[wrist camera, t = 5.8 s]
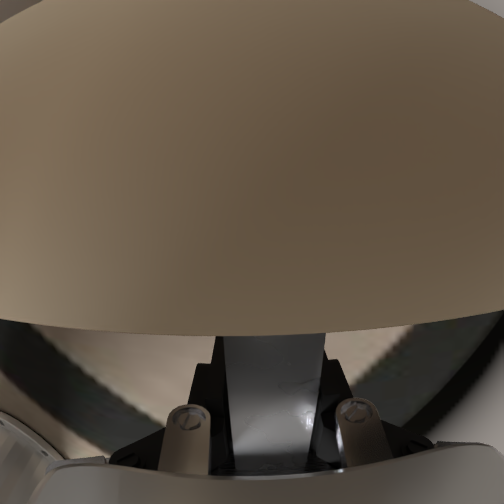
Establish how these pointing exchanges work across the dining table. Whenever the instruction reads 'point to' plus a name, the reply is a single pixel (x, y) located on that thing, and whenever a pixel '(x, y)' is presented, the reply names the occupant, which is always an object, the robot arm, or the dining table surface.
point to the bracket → (251, 165)
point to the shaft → (272, 403)
